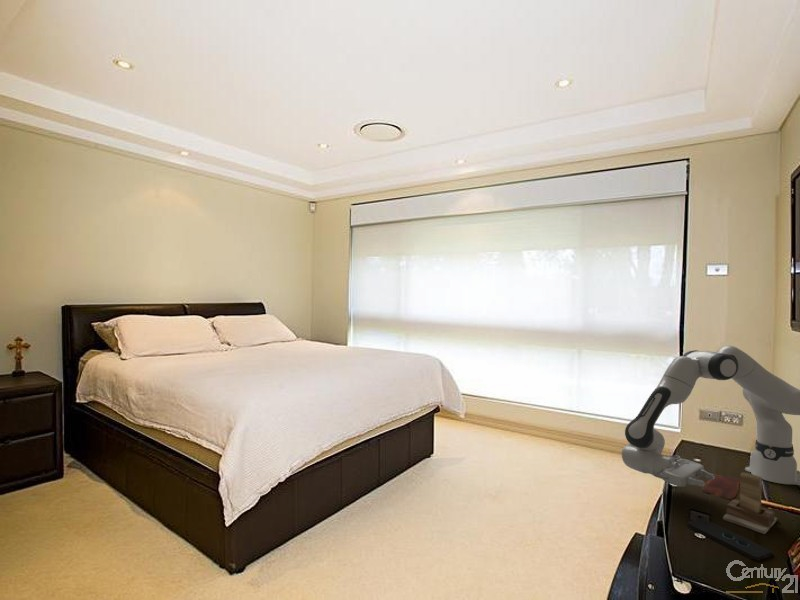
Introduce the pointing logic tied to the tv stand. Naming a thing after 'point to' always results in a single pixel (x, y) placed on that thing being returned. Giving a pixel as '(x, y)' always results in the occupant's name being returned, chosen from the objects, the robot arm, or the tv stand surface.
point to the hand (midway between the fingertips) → (709, 480)
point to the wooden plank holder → (750, 517)
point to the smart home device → (730, 539)
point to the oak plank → (750, 492)
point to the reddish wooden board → (722, 486)
